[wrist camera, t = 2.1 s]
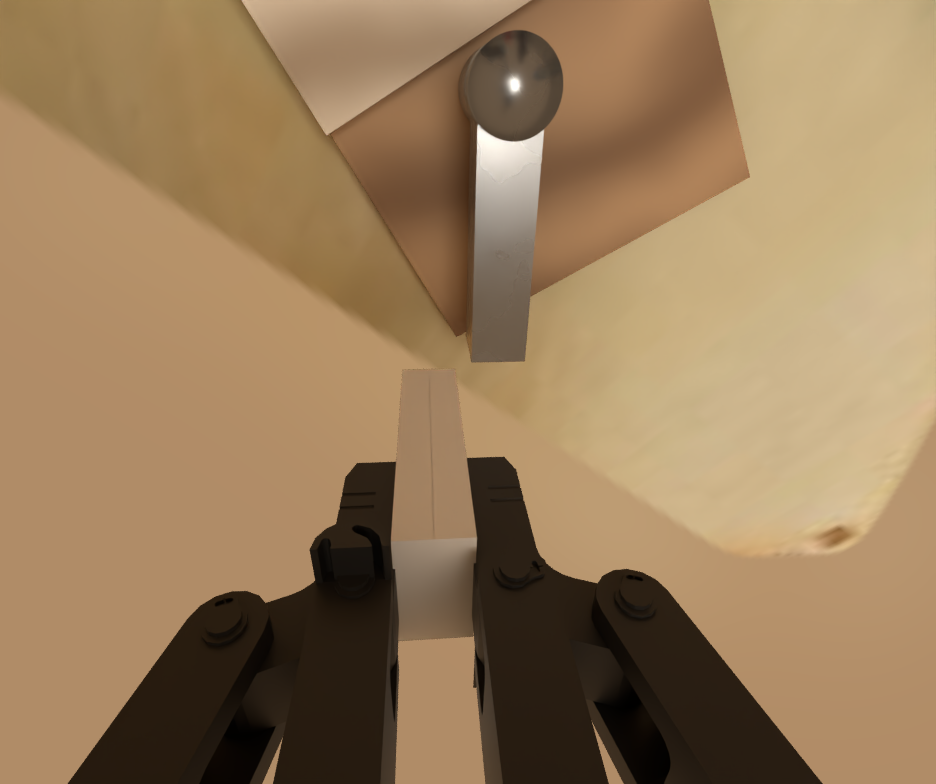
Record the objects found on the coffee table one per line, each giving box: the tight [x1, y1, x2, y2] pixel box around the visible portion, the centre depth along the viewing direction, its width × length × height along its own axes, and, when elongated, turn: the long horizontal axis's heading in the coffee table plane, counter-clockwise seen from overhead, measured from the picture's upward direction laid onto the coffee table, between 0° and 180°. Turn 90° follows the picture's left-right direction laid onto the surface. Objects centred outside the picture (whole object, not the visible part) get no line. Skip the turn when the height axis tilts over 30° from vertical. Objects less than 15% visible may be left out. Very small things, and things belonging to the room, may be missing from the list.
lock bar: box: [458, 30, 563, 362], centre depth 21 cm, size 12×3×5 cm, turn 179°
